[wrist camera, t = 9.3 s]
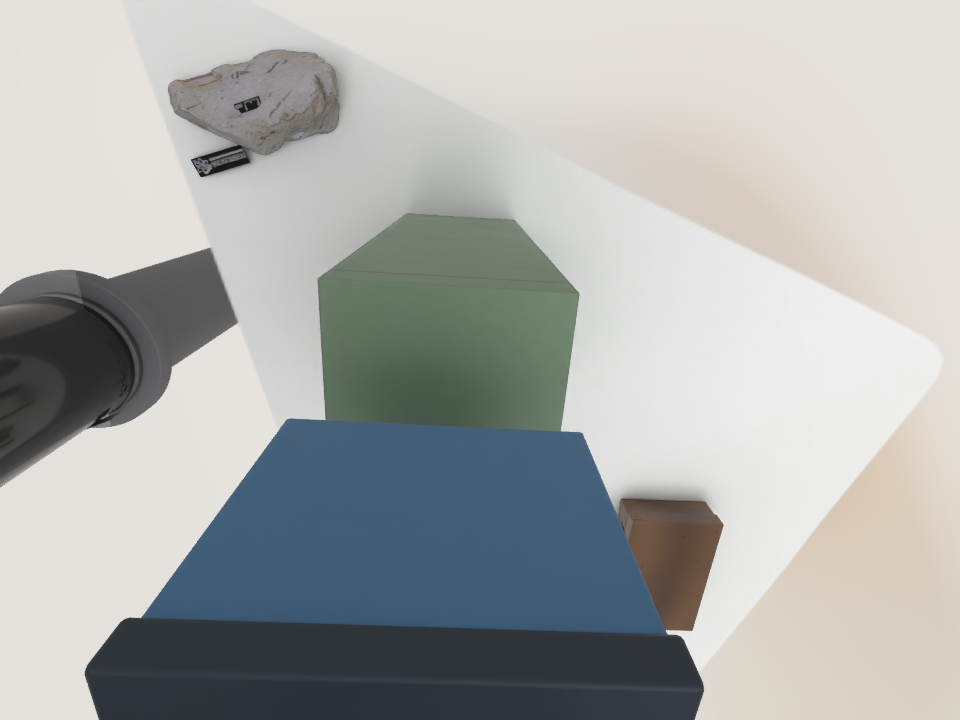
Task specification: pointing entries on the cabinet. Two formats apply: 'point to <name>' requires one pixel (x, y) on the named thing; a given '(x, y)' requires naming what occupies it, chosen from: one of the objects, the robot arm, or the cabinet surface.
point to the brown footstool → (672, 553)
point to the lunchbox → (404, 591)
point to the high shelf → (447, 328)
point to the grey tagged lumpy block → (258, 104)
